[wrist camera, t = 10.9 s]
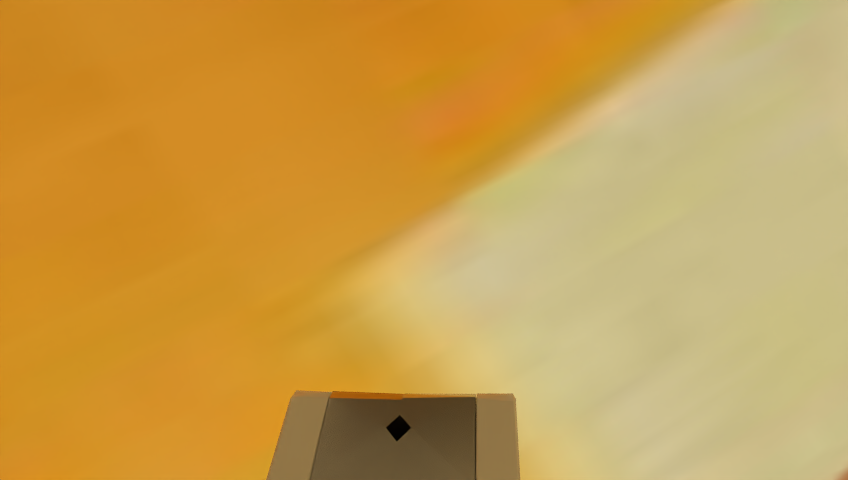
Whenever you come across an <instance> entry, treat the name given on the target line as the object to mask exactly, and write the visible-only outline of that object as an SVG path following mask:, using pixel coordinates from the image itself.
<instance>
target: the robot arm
mask: <svg viewBox="0 0 848 480" xmlns="http://www.w3.org/2000/svg"><path fill="white" fill-rule="evenodd" d="M266 480H520V468H519V450H518V433H517V415H516V399H515V397H514V395H513V394H477V397H476V394H391V393H365V392H339V391H333V392H316V391H296V392H295V393H294V395H293V396H292V397H291V399H290V402H289V405H288V409H287V412H286V415H285V419H284V422H283V425H282V429H281V432H280V436H279V439H278V442H277V446H276V449H275V452H274V456H273V459H272V463H271V466H270V469H269V473H268V476H267V479H266Z"/></svg>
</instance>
